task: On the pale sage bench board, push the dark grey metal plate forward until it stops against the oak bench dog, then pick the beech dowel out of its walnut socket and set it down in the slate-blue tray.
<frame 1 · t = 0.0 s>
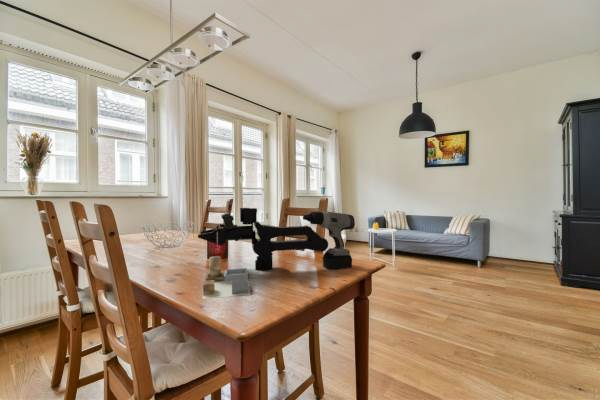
hand: (199, 234, 104), 17 cm above the table, tool horizontal, fingers open, 9 cm apart
bench dog: (209, 292, 83), resting on bench board
cordless drill: (329, 268, 115), on the table
oak dowel: (215, 268, 96), in the dowel socket, point 5 cm above the table, touching bench board
dowel socket: (215, 277, 96), on the bench board, point 1 cm above the table
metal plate: (240, 289, 85), point 1 cm above the table, touching bench board
bench board: (227, 286, 91), on the table
parts tray: (236, 277, 99), resting on bench board
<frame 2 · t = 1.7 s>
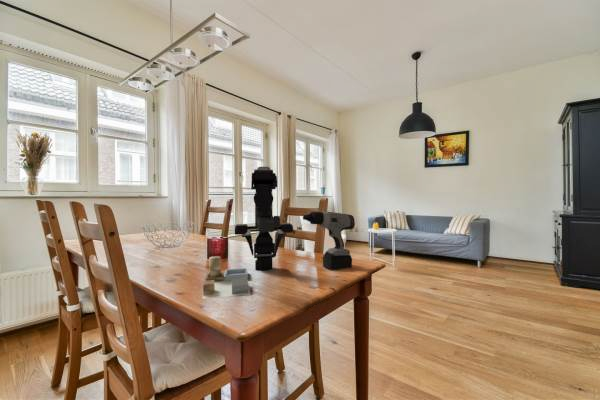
hand: (264, 254, 87), 12 cm above the table, tool pointing down, fingers open, 7 cm apart
nothing on the table moved.
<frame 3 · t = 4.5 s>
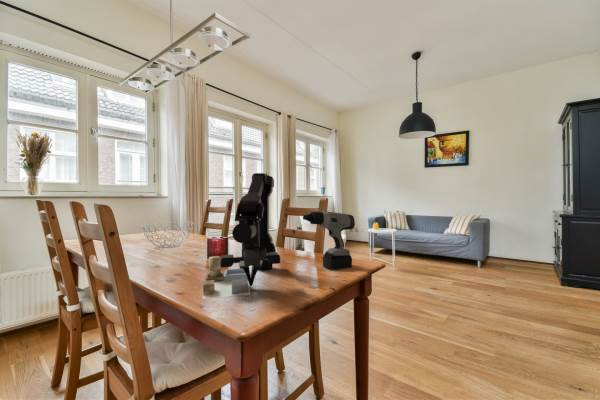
hand: (250, 285, 86), 2 cm above the table, tool pointing down, fingers closed
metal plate: (239, 289, 85), point 1 cm above the table, touching gripper
everything else where it was.
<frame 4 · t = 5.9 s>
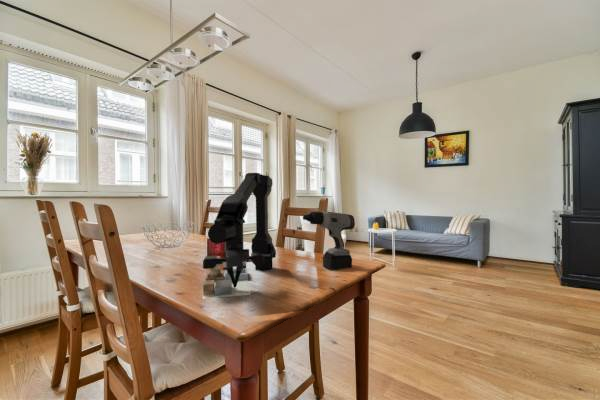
hand: (234, 286, 85), 2 cm above the table, tool pointing down, fingers closed
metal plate: (223, 291, 84), point 1 cm above the table, touching bench board, gripper
everything else where it was.
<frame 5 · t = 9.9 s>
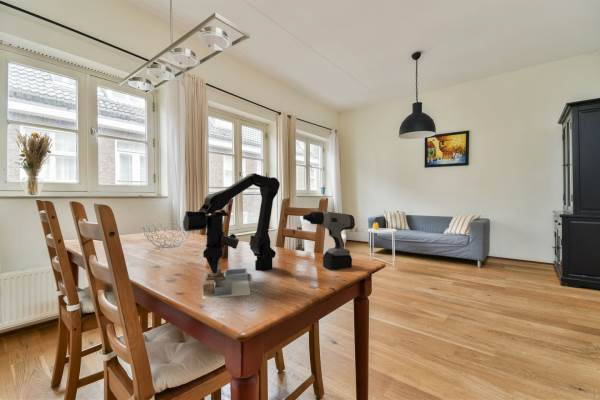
hand: (215, 271, 96), 4 cm above the table, tool pointing down, fingers closed on oak dowel, 4 cm apart
oak dowel: (215, 268, 96), in the dowel socket, point 5 cm above the table, touching bench board, gripper
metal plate: (223, 291, 84), point 1 cm above the table, touching bench board
everything else where it was.
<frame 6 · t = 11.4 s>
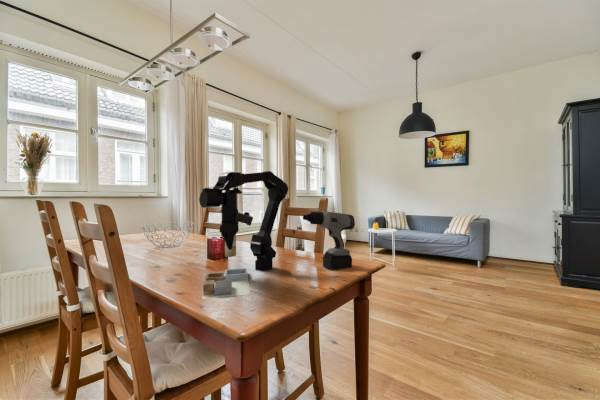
hand: (230, 248, 98), 12 cm above the table, tool pointing down, fingers closed on oak dowel, 4 cm apart
oak dowel: (230, 244, 98), point 13 cm above the table, touching gripper
everything else where it was.
when the fingers open (6 cm above the table, at t = 13.1 s): oak dowel moves 1 cm, resting on parts tray.
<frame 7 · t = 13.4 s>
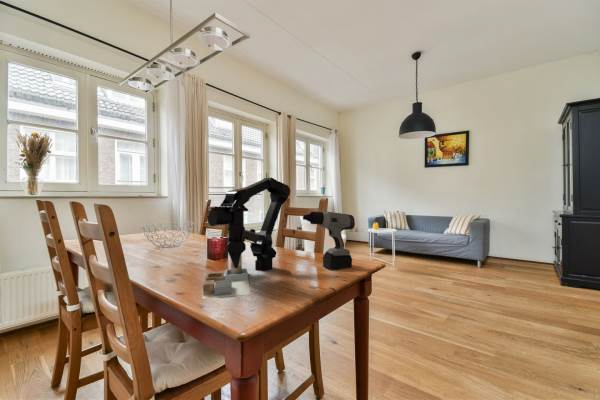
hand: (236, 265, 98), 6 cm above the table, tool pointing down, fingers open, 7 cm apart
oak dowel: (236, 264, 99), in the parts tray, point 6 cm above the table
everything else where it was.
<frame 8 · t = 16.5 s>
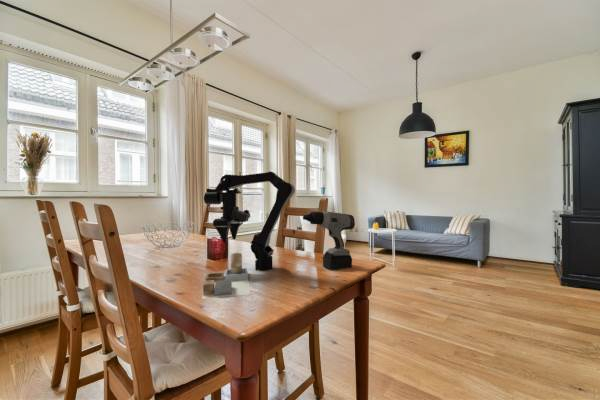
hand: (229, 241, 112), 12 cm above the table, tool pointing down, fingers open, 9 cm apart
nothing on the table moved.
at the end: oak dowel 0.0 cm off-centre on the parts tray, point 4.6 cm above the parts tray's base; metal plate 0.4 cm from the target spot, point 1.2 cm above the table; the gripper is holding nothing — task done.
